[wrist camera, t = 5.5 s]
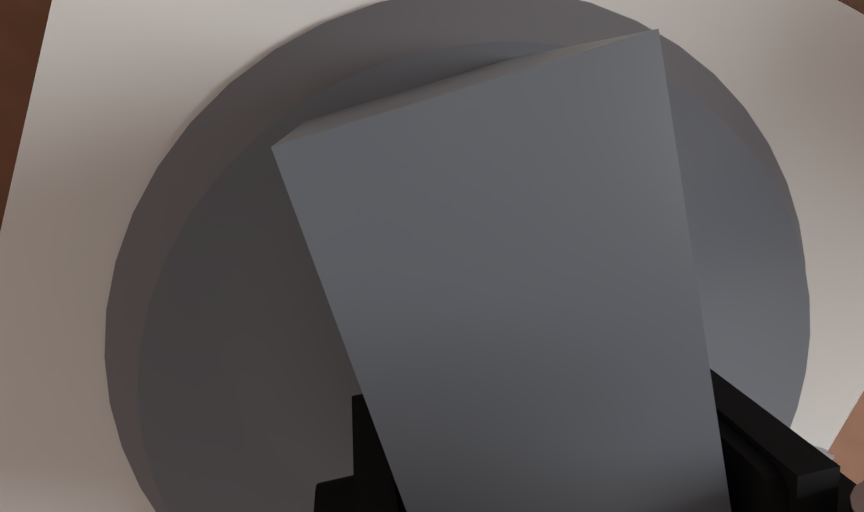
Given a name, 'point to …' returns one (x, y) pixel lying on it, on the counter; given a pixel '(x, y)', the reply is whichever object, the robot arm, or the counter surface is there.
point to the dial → (477, 292)
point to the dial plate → (281, 93)
